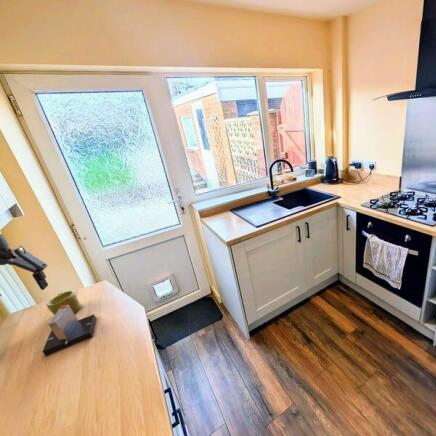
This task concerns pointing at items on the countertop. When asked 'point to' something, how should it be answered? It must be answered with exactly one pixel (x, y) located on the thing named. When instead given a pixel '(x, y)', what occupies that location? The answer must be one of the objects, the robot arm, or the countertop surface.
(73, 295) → the mug
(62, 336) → the tap handle
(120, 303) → the countertop surface
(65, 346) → the base
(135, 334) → the countertop surface
